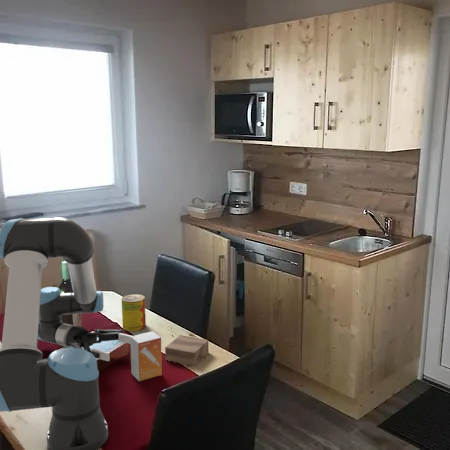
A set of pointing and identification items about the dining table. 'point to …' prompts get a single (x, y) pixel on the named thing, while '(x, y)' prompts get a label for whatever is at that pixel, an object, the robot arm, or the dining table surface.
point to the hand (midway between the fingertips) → (122, 348)
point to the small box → (146, 355)
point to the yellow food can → (133, 312)
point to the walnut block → (186, 350)
